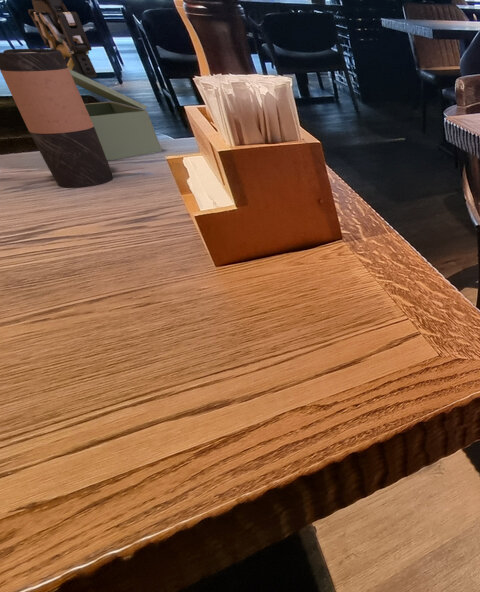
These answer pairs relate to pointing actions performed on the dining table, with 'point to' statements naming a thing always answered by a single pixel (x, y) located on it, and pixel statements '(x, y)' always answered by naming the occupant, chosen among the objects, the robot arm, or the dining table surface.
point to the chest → (123, 130)
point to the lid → (97, 84)
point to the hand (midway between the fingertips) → (81, 75)
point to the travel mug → (55, 116)
